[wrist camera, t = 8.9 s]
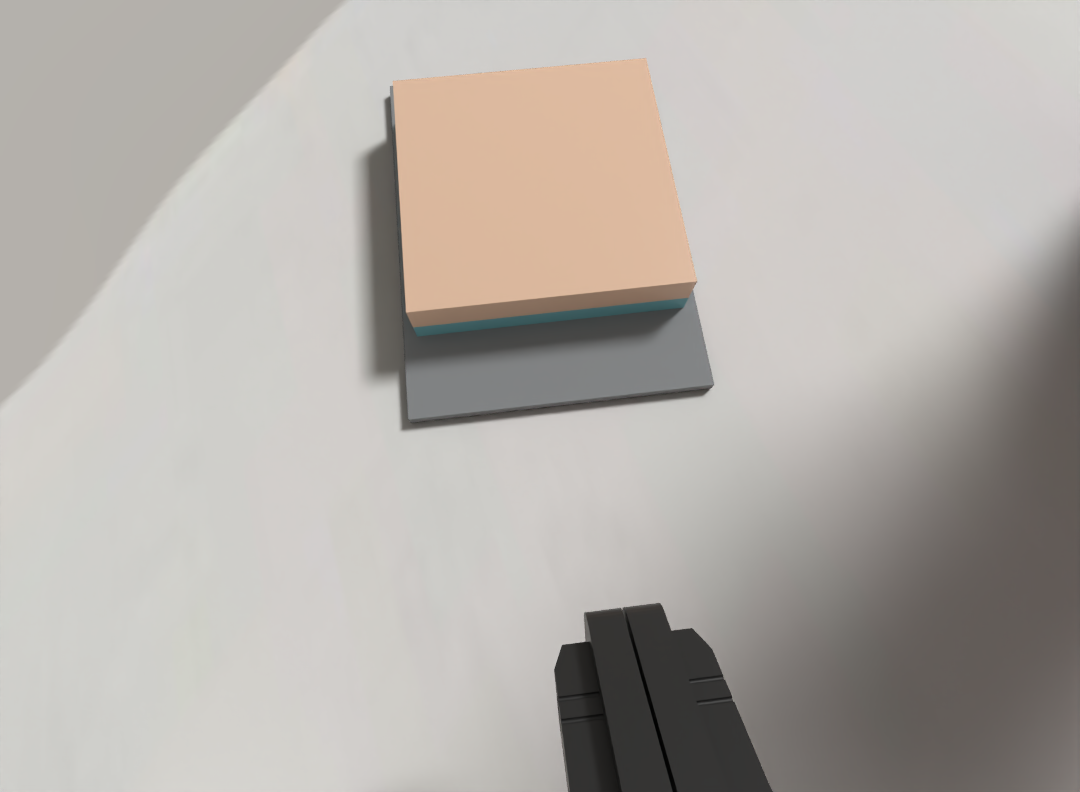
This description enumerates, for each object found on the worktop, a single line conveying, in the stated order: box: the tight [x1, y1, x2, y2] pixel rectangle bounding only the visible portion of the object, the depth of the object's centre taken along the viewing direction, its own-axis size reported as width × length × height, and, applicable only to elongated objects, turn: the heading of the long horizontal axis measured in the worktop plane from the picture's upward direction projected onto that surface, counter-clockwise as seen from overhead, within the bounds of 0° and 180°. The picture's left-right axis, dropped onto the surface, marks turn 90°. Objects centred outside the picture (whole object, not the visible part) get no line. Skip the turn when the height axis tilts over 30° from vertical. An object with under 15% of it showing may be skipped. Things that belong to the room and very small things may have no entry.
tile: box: [393, 58, 697, 337], centre depth 23 cm, size 10×2×10 cm
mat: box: [390, 86, 714, 423], centre depth 24 cm, size 11×15×1 cm
